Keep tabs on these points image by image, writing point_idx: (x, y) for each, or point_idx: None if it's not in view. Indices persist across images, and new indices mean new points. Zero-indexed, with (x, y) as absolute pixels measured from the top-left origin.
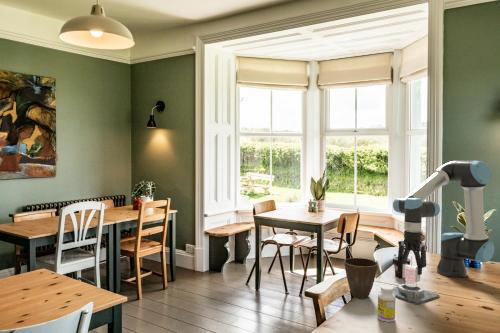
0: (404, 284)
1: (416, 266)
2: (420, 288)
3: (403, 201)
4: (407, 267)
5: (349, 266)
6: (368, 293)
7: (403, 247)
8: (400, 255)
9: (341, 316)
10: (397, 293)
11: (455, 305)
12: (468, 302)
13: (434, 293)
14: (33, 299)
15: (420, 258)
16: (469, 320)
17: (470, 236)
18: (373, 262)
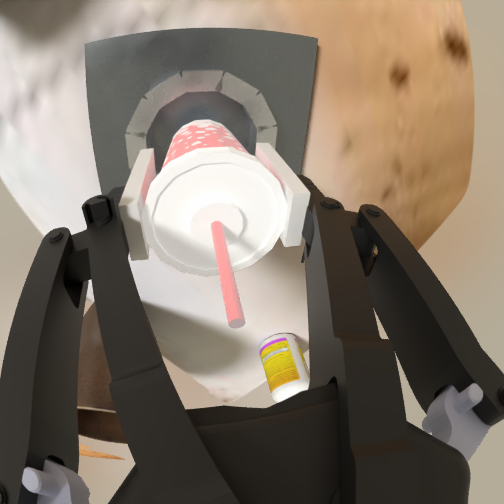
0: (140, 131)
1: (245, 168)
2: (247, 108)
3: None
4: (214, 274)
5: None
6: (150, 325)
7: (38, 414)
8: (79, 332)
9: (213, 383)
10: None
11: (393, 96)
12: (412, 25)
13: (289, 34)
14: None
15: (360, 271)
16: (432, 194)
17: None
18: (104, 403)
